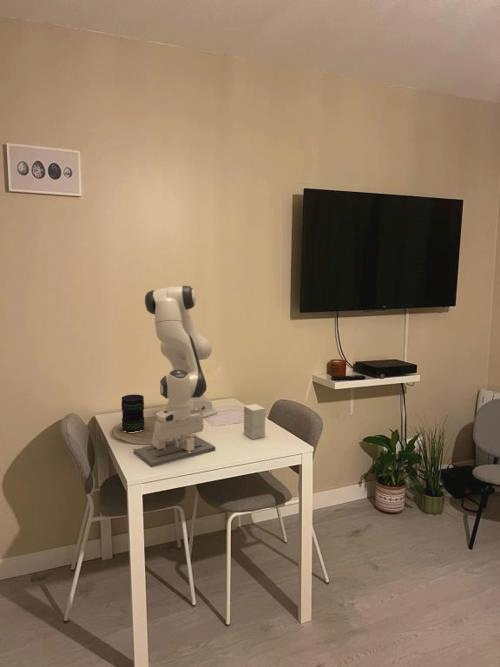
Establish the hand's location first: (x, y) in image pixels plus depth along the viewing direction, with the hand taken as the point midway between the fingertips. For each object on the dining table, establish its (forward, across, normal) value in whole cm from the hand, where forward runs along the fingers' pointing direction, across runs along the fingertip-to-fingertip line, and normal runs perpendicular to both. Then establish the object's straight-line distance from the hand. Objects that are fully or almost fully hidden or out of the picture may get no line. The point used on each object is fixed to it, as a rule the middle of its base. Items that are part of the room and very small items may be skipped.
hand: (179, 446), depth 195 cm
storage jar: (+4, +3, -38) cm, 38 cm away
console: (+4, 0, -4) cm, 5 cm away
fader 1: (+2, +5, -8) cm, 10 cm away
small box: (+4, -37, 0) cm, 37 cm away
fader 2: (+2, -4, 0) cm, 4 cm away
